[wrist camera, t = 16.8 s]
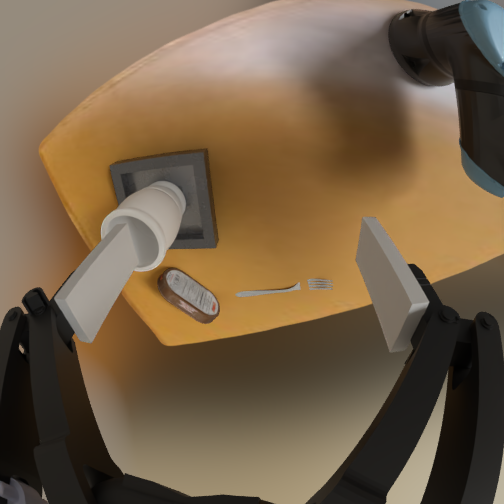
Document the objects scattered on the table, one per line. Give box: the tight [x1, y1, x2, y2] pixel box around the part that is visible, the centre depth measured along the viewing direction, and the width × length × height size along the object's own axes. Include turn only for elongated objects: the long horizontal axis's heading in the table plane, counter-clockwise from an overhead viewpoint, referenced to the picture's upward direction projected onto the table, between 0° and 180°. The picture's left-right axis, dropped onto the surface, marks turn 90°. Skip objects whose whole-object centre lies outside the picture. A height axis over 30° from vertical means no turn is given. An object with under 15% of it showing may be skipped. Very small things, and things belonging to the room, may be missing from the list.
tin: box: [157, 268, 220, 324], centre depth 56 cm, size 15×3×8 cm, turn 47°
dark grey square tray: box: [110, 149, 219, 249], centre depth 47 cm, size 18×18×3 cm
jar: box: [101, 181, 186, 271], centre depth 42 cm, size 11×10×15 cm
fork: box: [236, 279, 333, 297], centre depth 59 cm, size 3×24×2 cm, turn 103°
